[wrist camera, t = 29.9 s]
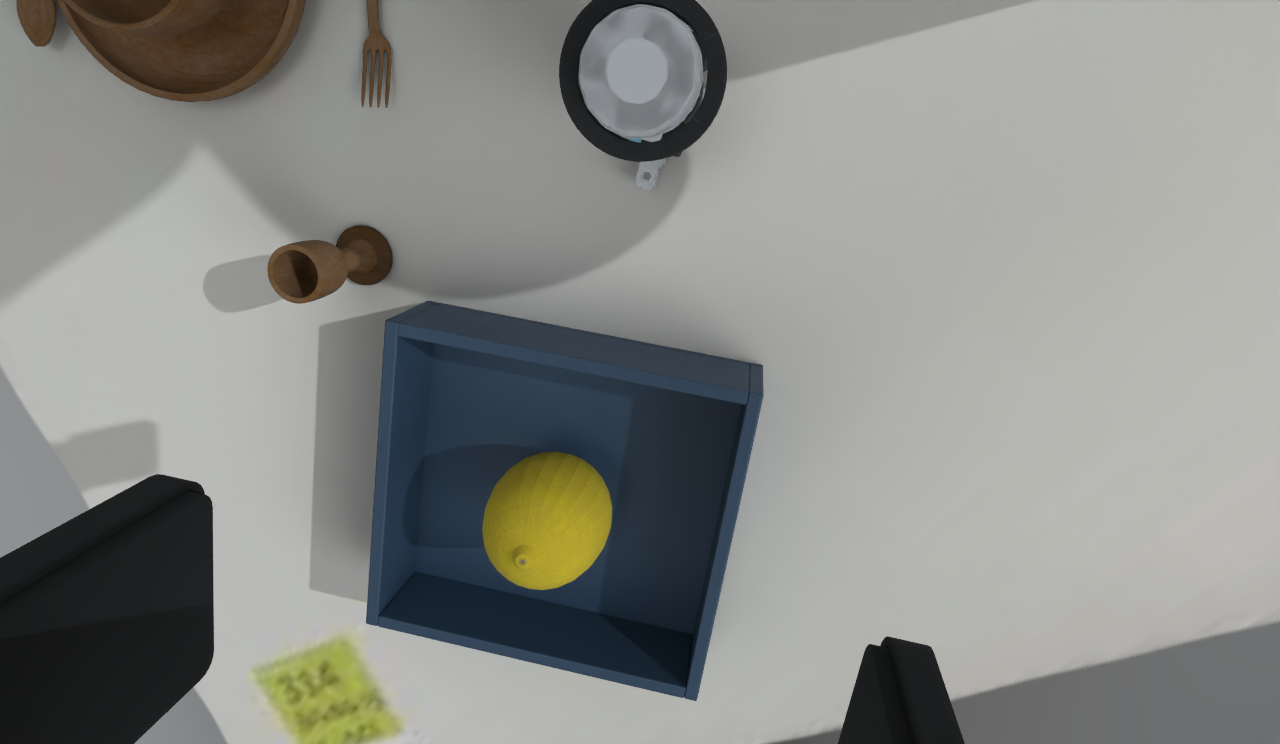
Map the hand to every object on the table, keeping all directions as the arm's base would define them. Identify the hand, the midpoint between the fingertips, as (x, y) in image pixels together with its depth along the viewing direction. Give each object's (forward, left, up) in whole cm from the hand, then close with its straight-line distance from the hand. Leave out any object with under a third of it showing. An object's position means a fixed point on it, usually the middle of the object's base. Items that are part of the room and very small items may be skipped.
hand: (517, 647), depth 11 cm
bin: (+4, +10, -26) cm, 28 cm away
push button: (+2, -8, -26) cm, 28 cm away
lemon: (+4, +10, -26) cm, 28 cm away
